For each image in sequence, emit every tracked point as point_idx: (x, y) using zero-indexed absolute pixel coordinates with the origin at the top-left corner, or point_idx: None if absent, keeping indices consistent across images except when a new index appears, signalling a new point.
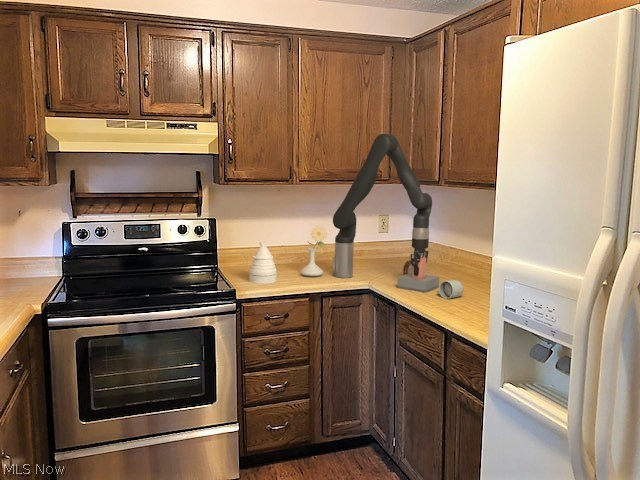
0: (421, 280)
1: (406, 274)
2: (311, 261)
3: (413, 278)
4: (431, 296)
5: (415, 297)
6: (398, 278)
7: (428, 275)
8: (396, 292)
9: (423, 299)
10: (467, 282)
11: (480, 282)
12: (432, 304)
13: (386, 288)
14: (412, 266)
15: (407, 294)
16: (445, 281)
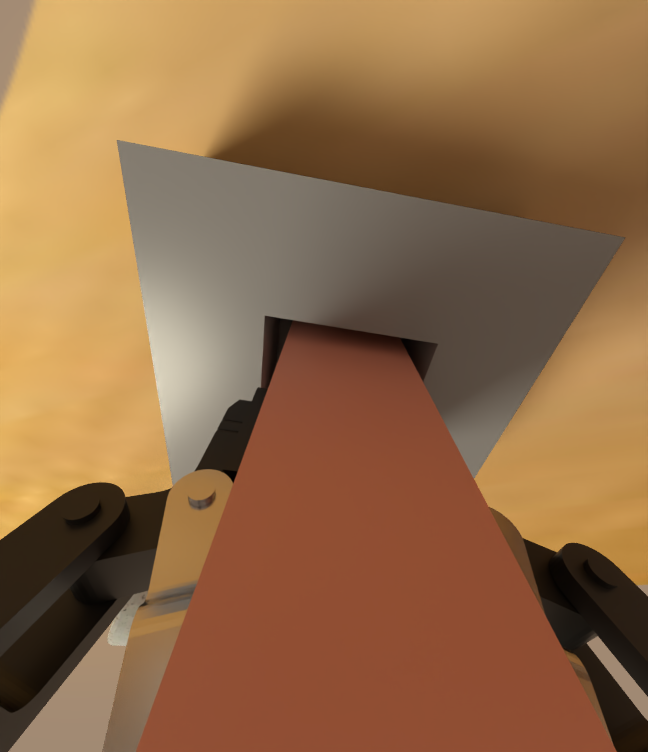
0: (185, 459)
1: (426, 206)
2: None
3: (214, 378)
4: (151, 470)
5: (42, 410)
6: (134, 162)
7: (466, 458)
8: (27, 238)
9: (48, 454)
10: (623, 540)
11: (630, 575)
12: (8, 502)
13: (69, 27)
14: (253, 435)
15: (60, 344)
16: (112, 628)
